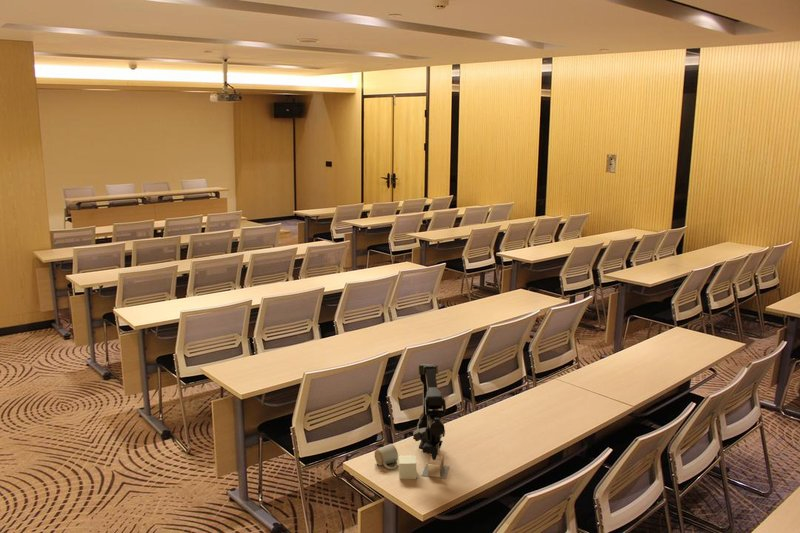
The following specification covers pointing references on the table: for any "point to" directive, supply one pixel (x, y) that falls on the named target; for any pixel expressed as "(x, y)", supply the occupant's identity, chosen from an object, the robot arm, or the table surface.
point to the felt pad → (443, 473)
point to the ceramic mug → (386, 456)
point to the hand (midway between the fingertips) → (434, 459)
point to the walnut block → (435, 466)
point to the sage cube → (407, 466)
